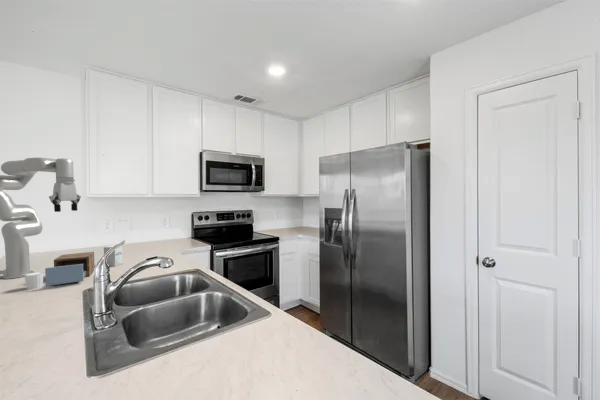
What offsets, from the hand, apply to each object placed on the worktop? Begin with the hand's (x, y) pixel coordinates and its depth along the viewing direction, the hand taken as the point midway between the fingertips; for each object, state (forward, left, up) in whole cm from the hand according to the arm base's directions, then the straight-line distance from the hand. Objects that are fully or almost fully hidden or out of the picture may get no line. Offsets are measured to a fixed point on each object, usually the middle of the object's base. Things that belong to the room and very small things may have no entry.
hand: (66, 211), depth 150 cm
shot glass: (-10, -15, -38) cm, 41 cm away
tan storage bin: (+3, 0, -37) cm, 37 cm away
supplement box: (+19, +16, -38) cm, 45 cm away
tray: (+3, -13, -36) cm, 38 cm away
